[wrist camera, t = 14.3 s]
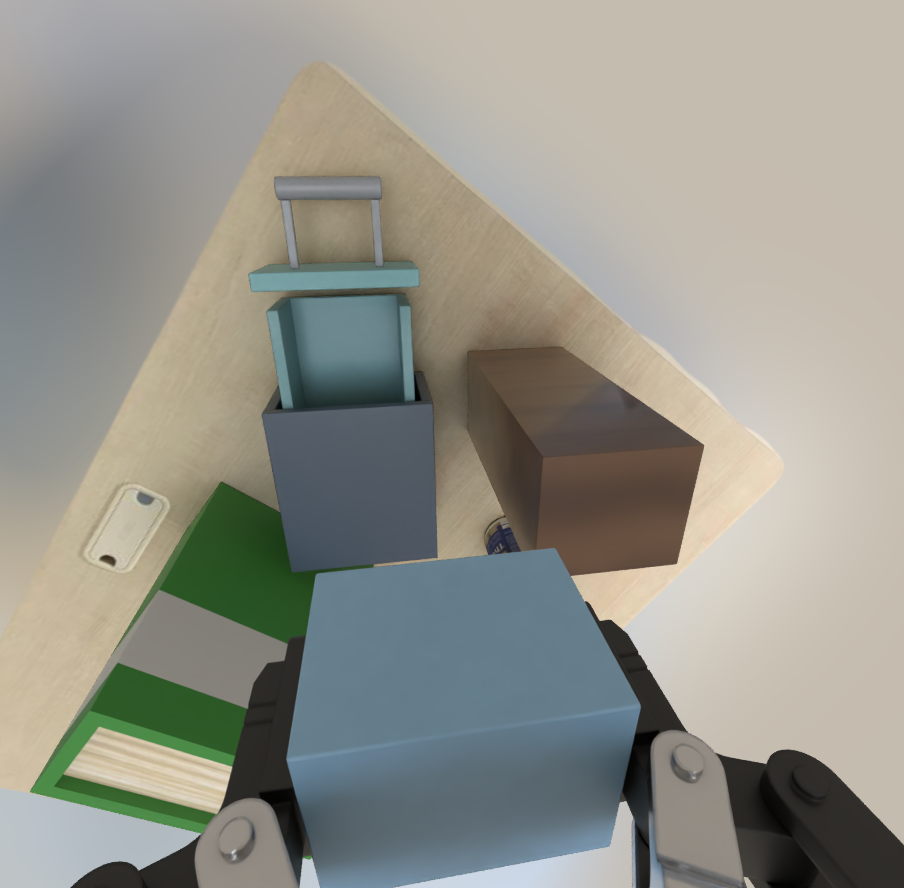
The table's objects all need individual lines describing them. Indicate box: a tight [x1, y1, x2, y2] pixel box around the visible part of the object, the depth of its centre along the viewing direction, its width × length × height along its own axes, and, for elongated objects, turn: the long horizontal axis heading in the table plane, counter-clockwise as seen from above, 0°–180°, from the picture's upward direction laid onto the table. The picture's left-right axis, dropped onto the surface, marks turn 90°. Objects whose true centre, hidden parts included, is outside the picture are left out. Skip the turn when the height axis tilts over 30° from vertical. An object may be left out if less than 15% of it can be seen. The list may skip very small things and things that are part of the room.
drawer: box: [248, 176, 420, 409], centre depth 38 cm, size 19×11×7 cm, turn 1°
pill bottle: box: [485, 517, 521, 555], centre depth 50 cm, size 5×5×10 cm
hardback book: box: [30, 482, 373, 859], centre depth 40 cm, size 18×7×24 cm, turn 50°
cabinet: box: [262, 372, 437, 572], centre depth 43 cm, size 15×13×9 cm
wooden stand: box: [468, 347, 704, 576], centre depth 37 cm, size 8×9×22 cm
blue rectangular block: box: [286, 548, 641, 888], centre depth 11 cm, size 6×4×4 cm
